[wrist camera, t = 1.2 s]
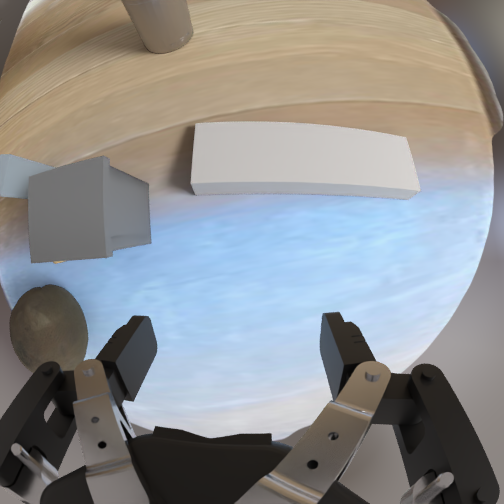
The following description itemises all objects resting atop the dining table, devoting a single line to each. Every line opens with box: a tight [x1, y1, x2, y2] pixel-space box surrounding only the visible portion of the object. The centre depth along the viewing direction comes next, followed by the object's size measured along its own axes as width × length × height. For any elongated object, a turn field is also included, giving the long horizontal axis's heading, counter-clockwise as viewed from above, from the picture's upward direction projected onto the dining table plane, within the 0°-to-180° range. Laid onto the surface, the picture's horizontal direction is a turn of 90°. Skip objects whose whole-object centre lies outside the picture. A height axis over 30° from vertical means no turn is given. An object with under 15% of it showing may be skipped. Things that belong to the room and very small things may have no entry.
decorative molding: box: [191, 122, 421, 200], centre depth 38 cm, size 34×5×10 cm
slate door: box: [0, 154, 55, 199], centre depth 30 cm, size 3×6×13 cm, turn 169°
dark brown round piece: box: [10, 284, 88, 373], centre depth 31 cm, size 14×14×15 cm
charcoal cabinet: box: [28, 156, 151, 264], centre depth 30 cm, size 17×10×15 cm, turn 94°
